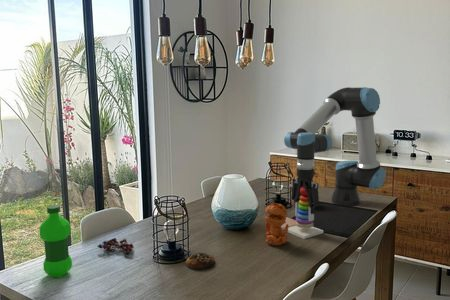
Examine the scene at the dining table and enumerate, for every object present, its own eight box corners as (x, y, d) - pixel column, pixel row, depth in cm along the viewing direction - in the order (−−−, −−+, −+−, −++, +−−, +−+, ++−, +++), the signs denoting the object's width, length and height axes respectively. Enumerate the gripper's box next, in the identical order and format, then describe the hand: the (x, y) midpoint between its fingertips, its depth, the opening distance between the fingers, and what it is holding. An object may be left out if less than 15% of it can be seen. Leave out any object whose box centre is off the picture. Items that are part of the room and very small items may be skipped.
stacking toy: (308, 230, 189) (309, 188, 186) (292, 226, 193) (292, 185, 190) (316, 225, 195) (317, 184, 192) (300, 221, 200) (301, 182, 197)
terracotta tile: (283, 218, 214) (283, 216, 214) (301, 224, 204) (301, 222, 204) (265, 223, 207) (265, 220, 207) (282, 230, 197) (282, 227, 197)
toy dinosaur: (256, 243, 182) (257, 201, 179) (272, 236, 190) (272, 196, 187) (278, 250, 174) (279, 207, 172) (293, 242, 182) (294, 201, 179)
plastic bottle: (79, 269, 159) (74, 203, 155) (62, 282, 148) (57, 212, 144) (55, 266, 161) (49, 201, 157) (36, 279, 151) (30, 210, 147)
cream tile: (303, 225, 203) (303, 223, 203) (323, 233, 193) (323, 230, 193) (285, 231, 196) (285, 228, 196) (304, 238, 186) (304, 236, 186)
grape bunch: (93, 254, 169) (94, 243, 169) (105, 243, 184) (107, 233, 183) (130, 260, 169) (131, 248, 168) (140, 249, 183) (141, 238, 182)
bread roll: (205, 272, 155) (203, 258, 155) (180, 270, 161) (178, 256, 160) (221, 262, 165) (219, 249, 164) (196, 260, 170) (195, 247, 170)
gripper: (283, 165, 196) (282, 214, 200) (316, 173, 180) (315, 225, 183) (295, 163, 200) (294, 211, 204) (329, 170, 184) (327, 222, 188)
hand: (304, 218), depth 194 cm, fingers closed on stacking toy, 7 cm apart
